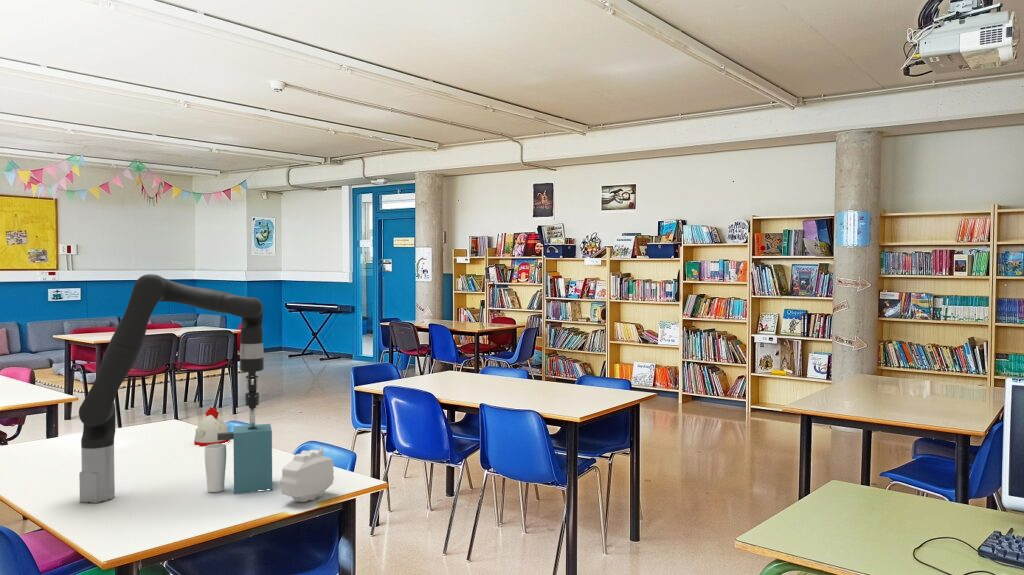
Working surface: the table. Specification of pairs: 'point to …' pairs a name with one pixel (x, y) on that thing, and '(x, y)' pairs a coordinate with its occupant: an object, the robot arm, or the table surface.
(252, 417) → the plunger
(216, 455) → the drinking glass
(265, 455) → the dispenser
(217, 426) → the kitchen timer
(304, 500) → the white stepped block
